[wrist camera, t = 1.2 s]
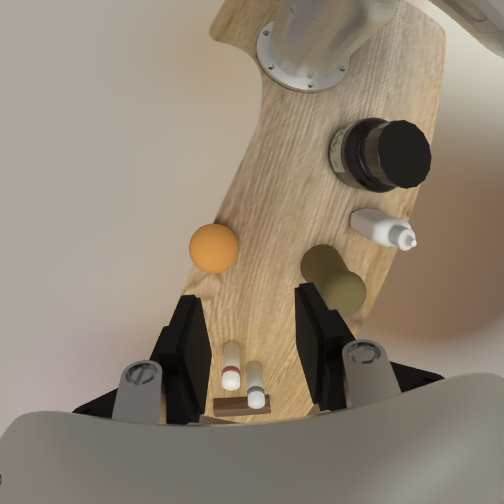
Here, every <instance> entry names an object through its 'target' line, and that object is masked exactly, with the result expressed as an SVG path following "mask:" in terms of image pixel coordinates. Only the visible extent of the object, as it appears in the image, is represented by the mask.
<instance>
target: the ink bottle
mask: <svg viewBox="0 0 504 504" xmlns="http://www.w3.org/2000/svg"><path fill="white" fill-rule="evenodd" d="M329 161H330V165H331V167H332V169H333V171H334V173H335V174H336V175H337V177H338V178H339V179H340V180H341V181H343V182H344V183H345V184H347V185H349V186H351V187H354V188H358V189H362V190H367V191H371V192H377V193H384V192H388V191H391V190H393V189H395V188H396V187H400V188H405V189H408V188H411V187H417V186H418V185H419V184H420V183H421V182H422V181H424V180H425V178H426V176H427V174H428V172H429V170H430V164H431V153H430V145H429V143H428V141H427V139H426V137H425V136H424V133H423V132H422V131H421V130H420V129H419V128H418V127H417V126H416V125H415V124H412V123H410V122H407V121H406V120H400V121H390V122H388V121H386V120H384V119H381V118H366V119H362V120H359V121H356V122H353V123H350V124H348V125H346V126H344V127H342V128H341V129H340V130H339V131H338V132H337V133H336V134H335V135H334V137H333V138H332V141H331V143H330V147H329Z"/></svg>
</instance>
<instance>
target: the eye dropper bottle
mask: <svg viewBox="0 0 504 504" xmlns="http://www.w3.org/2000/svg"><path fill="white" fill-rule="evenodd" d="M350 227H351V228H352V229H353V230H355V231H356V232H358V233H360V234H361V235H363V236H365V237H366V238H368V239H370V240H372V241H373V242H375V243H377V244H380V245H383V246H387V247H398V248H400V249H402V250H405V251H406V250H409V249H410V248H411V247H414V246H416V243H417V242H416V241H415V234H414V232H413V231H412V230H411V226H410V224H408V223H407V222H406V221H404V220H402V219H399V218H397V217H394V216H391V215H389V214H386V213H383V212H381V211H378V210H375V209H360V210H357V211H355V212H353V213H352V214H351V220H350Z"/></svg>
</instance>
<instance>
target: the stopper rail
mask: <svg viewBox="0 0 504 504" xmlns="http://www.w3.org/2000/svg"><path fill="white" fill-rule="evenodd" d="M213 412H214V415H215V417H225V416H243V415H256V414H266V413H271V409H270V401H269V395H265V405H264V406H263V407H262V408H259V409H253V408H251V407H249V406H248V397H236V398H217V399H214V405H213Z"/></svg>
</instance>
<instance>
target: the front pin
mask: <svg viewBox="0 0 504 504" xmlns="http://www.w3.org/2000/svg"><path fill="white" fill-rule="evenodd" d="M222 386H223V388H225V389H226V390H236V389H238V388H239V387H240V346H239V344H238V343H237V342H234V341H229V342H227V343H226V344H225V346H224V359H223V370H222Z"/></svg>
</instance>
